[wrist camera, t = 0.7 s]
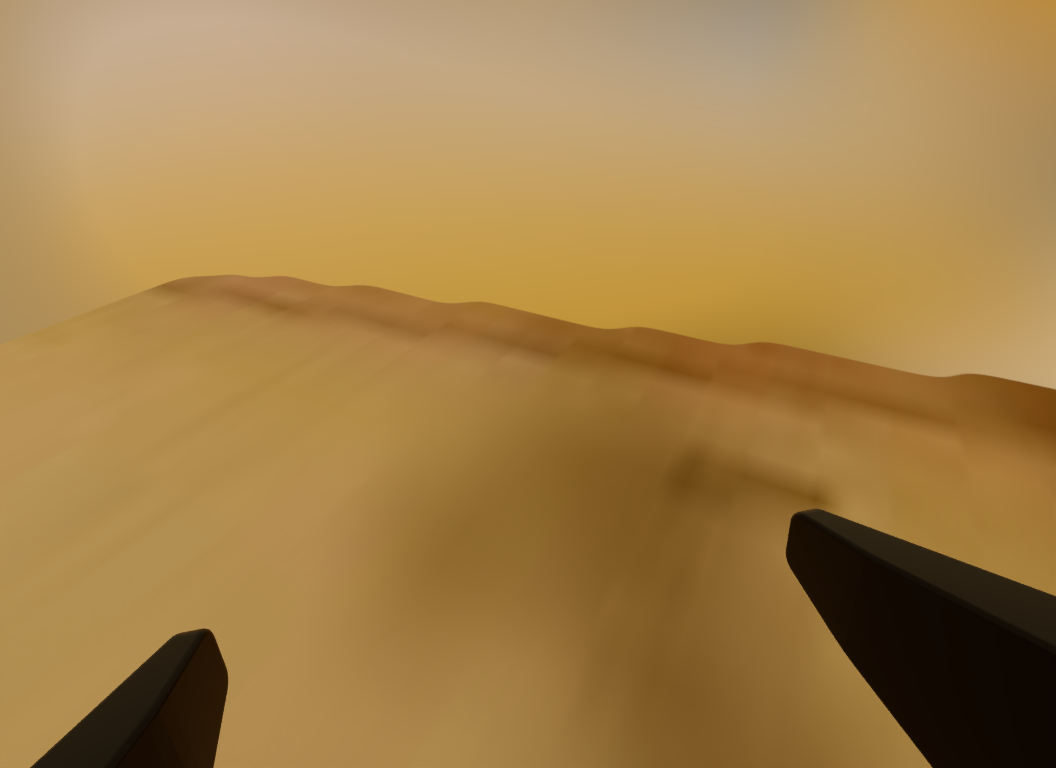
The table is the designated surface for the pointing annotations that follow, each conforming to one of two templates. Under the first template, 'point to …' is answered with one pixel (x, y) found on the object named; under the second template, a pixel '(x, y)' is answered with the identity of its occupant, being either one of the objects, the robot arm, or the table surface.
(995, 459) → the table surface
